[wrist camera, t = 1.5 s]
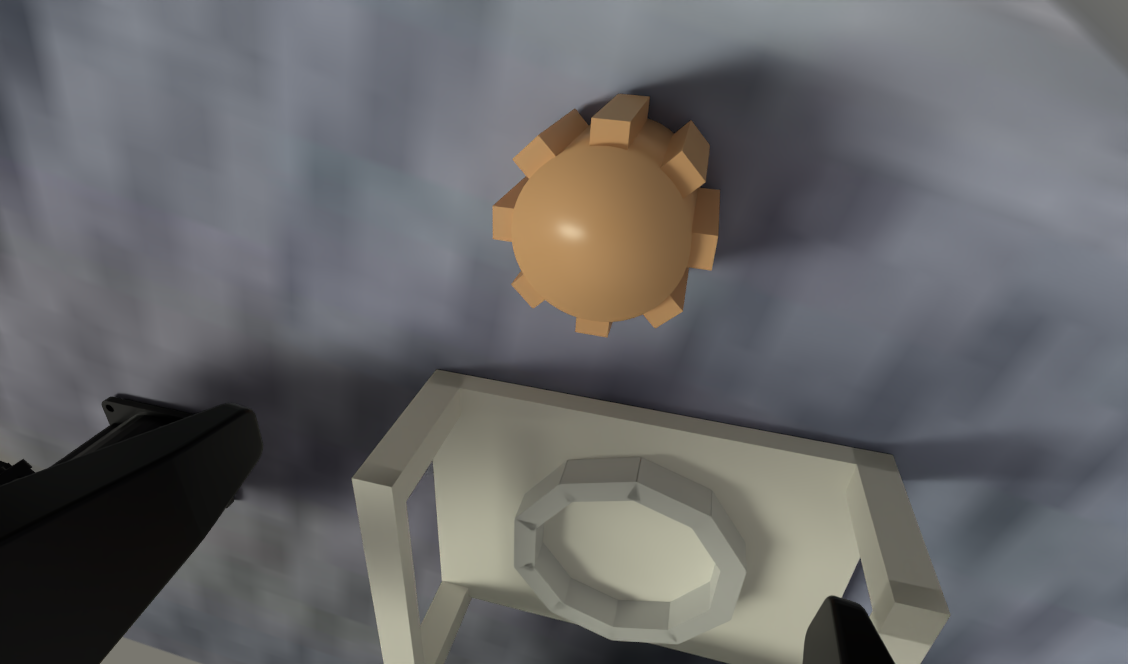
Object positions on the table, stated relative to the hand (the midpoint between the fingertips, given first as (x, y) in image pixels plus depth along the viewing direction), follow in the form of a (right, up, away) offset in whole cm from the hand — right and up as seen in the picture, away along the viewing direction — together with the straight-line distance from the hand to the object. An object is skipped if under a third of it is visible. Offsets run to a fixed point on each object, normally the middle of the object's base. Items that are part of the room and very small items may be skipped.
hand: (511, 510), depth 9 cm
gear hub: (+3, +8, +12) cm, 14 cm away
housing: (+4, -13, +23) cm, 26 cm away
